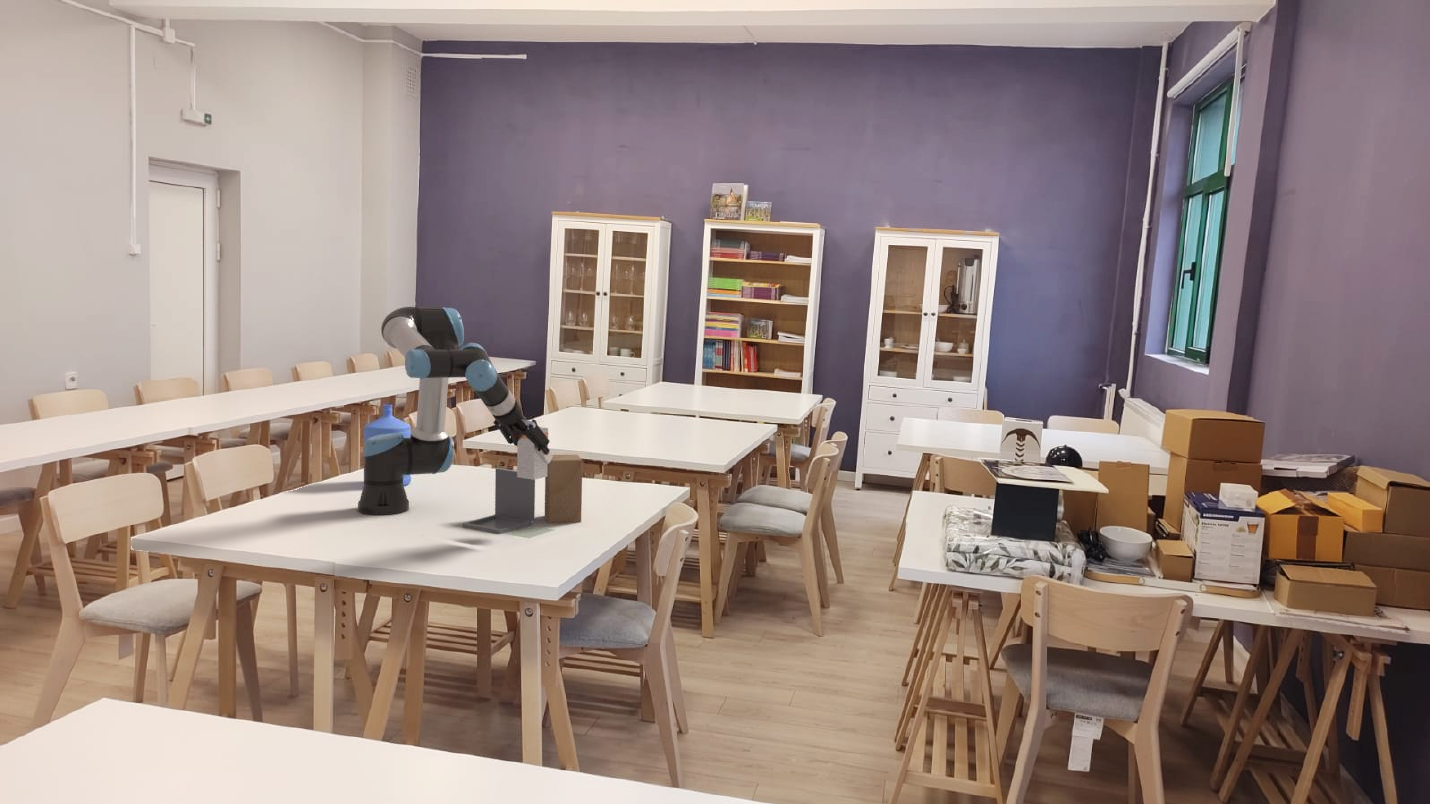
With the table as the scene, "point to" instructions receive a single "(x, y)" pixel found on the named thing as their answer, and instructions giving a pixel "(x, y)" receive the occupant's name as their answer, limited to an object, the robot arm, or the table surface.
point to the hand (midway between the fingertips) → (540, 458)
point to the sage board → (531, 531)
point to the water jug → (388, 430)
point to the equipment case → (509, 504)
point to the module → (530, 458)
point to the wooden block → (563, 489)
